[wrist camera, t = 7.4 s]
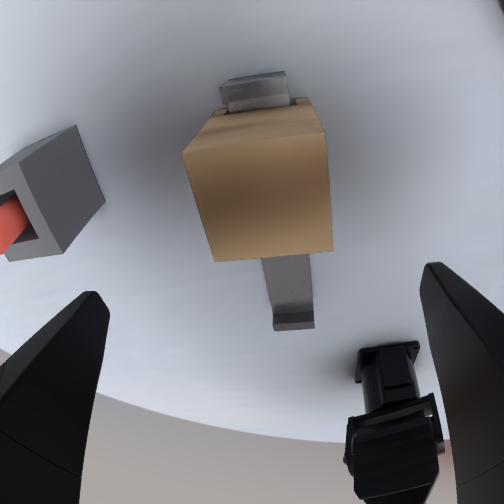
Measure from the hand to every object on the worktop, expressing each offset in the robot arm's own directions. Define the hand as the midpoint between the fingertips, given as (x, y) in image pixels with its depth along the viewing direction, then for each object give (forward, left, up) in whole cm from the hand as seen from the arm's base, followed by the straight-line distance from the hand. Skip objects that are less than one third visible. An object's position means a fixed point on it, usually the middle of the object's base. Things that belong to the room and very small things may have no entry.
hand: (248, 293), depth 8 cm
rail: (-5, 0, -12) cm, 13 cm away
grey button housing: (+1, +15, -12) cm, 19 cm away
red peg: (+1, +15, -8) cm, 17 cm away
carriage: (0, 0, -12) cm, 12 cm away
